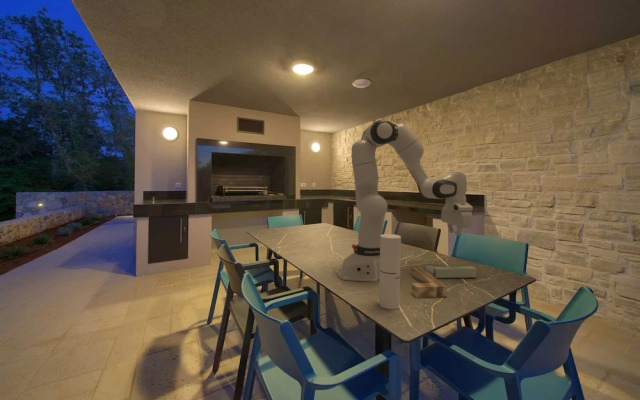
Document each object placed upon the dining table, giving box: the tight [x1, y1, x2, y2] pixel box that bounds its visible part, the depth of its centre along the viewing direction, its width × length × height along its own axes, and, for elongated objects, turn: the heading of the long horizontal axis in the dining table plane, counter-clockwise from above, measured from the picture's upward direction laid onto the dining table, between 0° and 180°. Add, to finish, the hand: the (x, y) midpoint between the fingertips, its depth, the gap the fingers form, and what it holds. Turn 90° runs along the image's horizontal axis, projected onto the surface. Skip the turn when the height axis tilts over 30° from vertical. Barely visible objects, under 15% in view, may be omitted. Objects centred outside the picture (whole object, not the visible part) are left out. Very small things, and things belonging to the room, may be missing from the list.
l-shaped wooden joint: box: [410, 265, 448, 298], centre depth 109 cm, size 13×24×4 cm, turn 3°
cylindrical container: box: [378, 233, 402, 310], centre depth 91 cm, size 7×7×25 cm
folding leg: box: [425, 264, 477, 279], centre depth 118 cm, size 23×4×5 cm, turn 92°
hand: (454, 233), depth 124 cm, fingers open, 4 cm apart
